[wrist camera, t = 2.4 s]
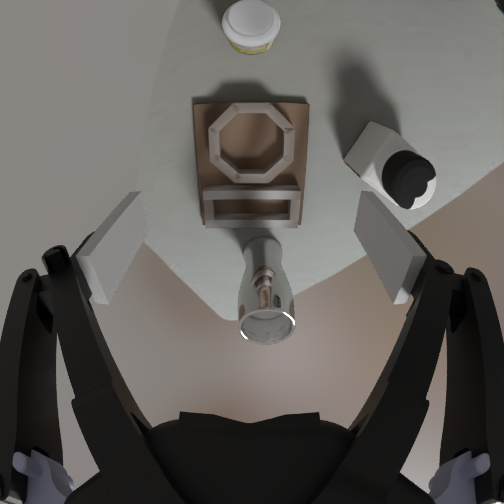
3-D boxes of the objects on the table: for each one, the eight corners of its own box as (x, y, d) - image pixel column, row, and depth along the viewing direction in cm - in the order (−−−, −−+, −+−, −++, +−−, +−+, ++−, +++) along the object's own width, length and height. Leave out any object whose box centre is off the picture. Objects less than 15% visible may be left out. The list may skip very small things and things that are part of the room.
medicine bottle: (341, 160, 34) (376, 195, 24) (369, 119, 30) (416, 139, 21) (378, 186, 36) (417, 227, 26) (404, 149, 32) (453, 179, 22)
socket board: (308, 103, 30) (313, 105, 27) (299, 221, 39) (303, 231, 37) (195, 103, 30) (190, 105, 27) (203, 221, 39) (200, 232, 37)
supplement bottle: (254, 9, 22) (254, -19, 14) (284, 38, 25) (297, 20, 16) (218, 34, 24) (205, 15, 16) (249, 63, 27) (247, 54, 18)
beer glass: (272, 226, 40) (281, 299, 28) (292, 259, 43) (306, 334, 31) (232, 246, 42) (224, 321, 30) (254, 276, 45) (255, 351, 33)
